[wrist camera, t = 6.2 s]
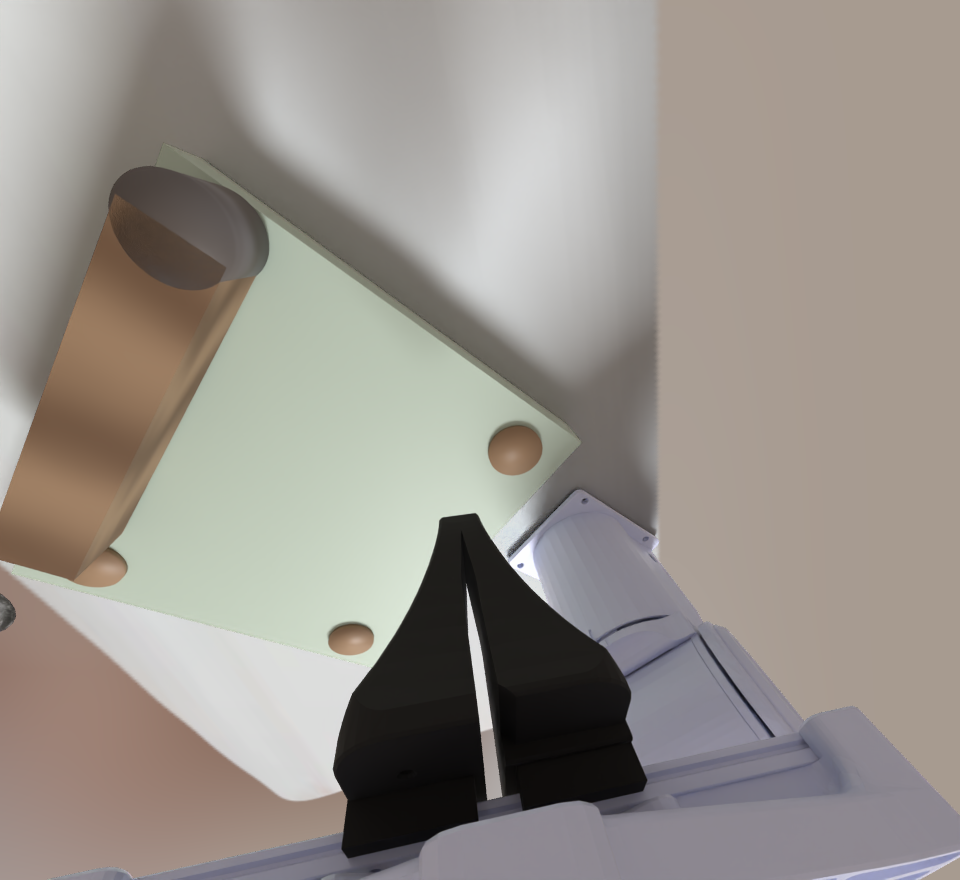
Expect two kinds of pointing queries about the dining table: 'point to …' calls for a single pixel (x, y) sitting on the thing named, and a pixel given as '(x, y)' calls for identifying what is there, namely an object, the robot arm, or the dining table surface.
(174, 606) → the stool seat
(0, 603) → the salt shaker
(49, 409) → the folding leg
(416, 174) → the dining table surface
